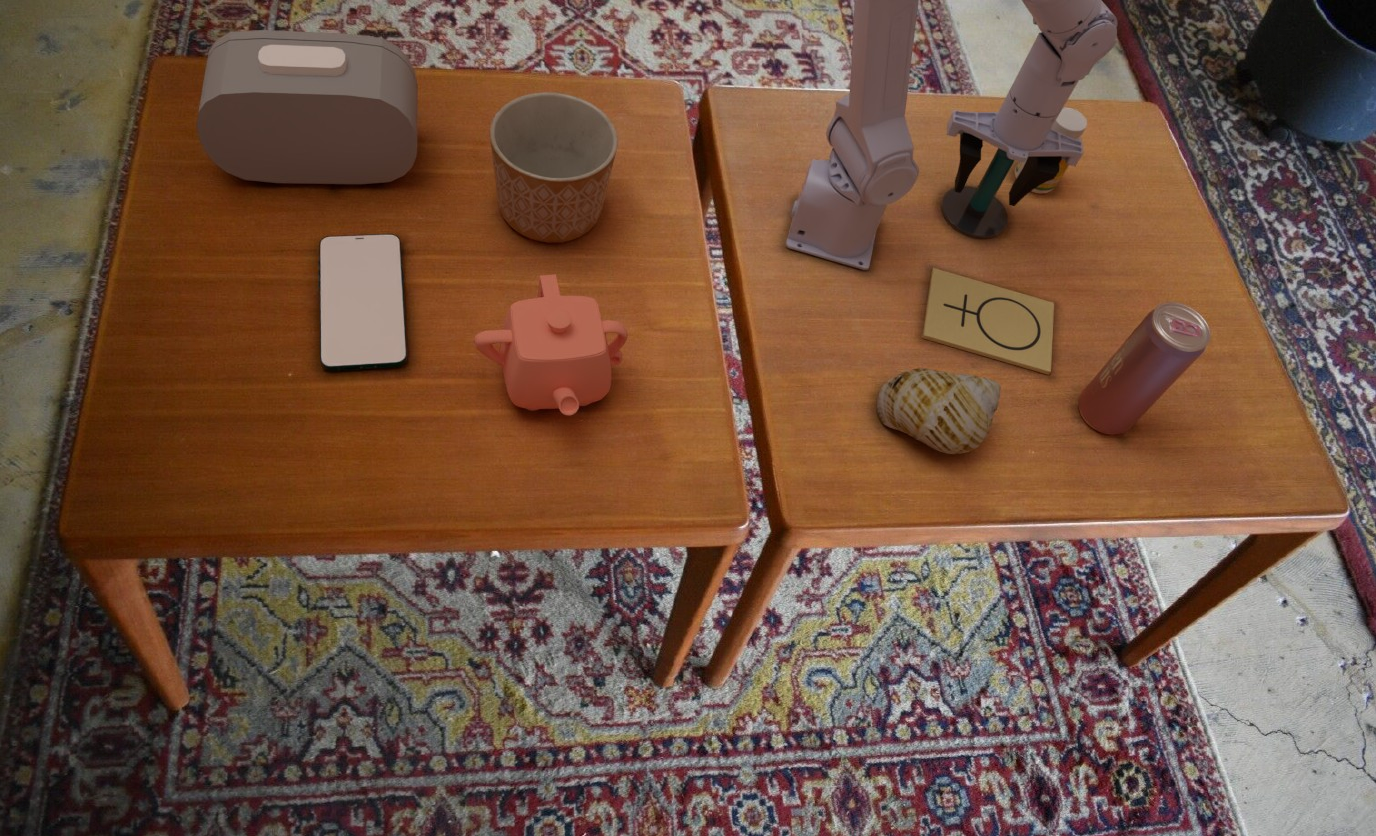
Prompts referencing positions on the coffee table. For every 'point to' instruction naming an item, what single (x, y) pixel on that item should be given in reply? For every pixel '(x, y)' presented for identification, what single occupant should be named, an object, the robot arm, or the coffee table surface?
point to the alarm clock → (309, 108)
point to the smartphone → (361, 302)
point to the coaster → (967, 224)
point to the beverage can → (1144, 367)
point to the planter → (552, 164)
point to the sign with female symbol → (989, 321)
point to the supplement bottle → (1070, 126)
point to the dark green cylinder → (989, 184)
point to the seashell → (940, 408)
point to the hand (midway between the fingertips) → (984, 193)
